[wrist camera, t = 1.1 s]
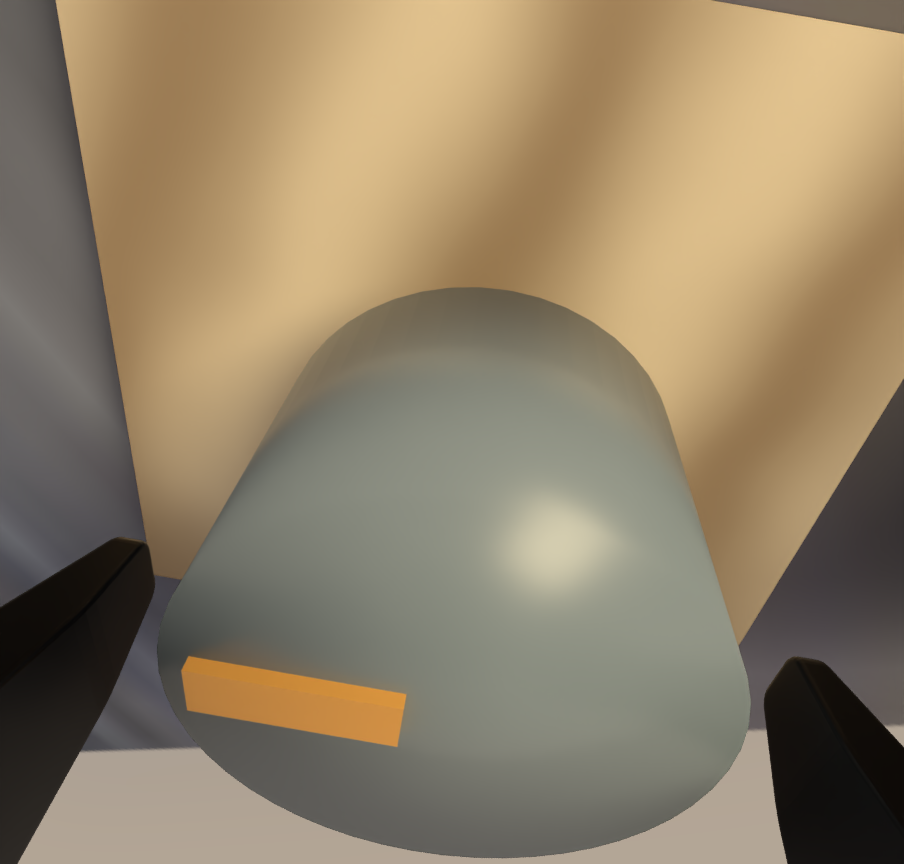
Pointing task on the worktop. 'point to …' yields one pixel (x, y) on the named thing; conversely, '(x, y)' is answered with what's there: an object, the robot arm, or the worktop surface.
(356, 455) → the cap
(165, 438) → the base
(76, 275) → the worktop surface
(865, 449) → the worktop surface
